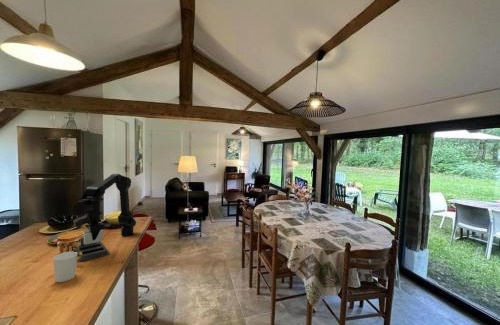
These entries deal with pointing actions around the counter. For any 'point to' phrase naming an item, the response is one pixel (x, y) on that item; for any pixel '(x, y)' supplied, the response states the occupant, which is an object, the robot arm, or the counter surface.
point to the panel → (89, 239)
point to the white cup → (65, 266)
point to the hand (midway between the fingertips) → (93, 239)
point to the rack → (90, 251)
